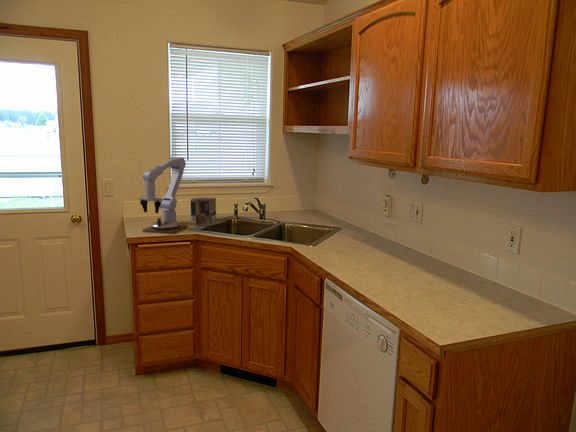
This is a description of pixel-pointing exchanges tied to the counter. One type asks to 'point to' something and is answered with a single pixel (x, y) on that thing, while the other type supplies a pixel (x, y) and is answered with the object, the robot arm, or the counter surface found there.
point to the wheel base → (166, 231)
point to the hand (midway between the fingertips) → (151, 212)
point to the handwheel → (164, 224)
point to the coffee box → (203, 213)
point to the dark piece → (193, 207)
